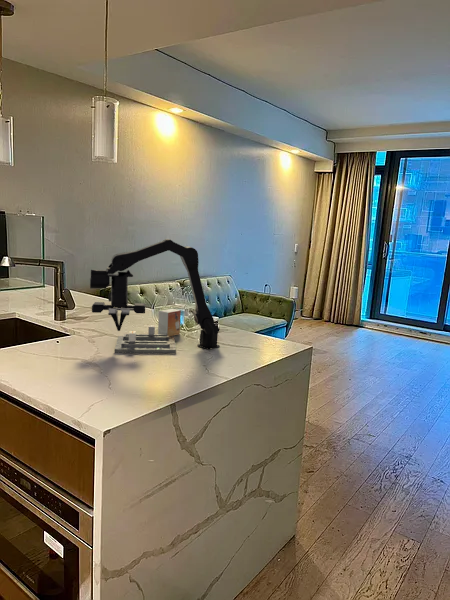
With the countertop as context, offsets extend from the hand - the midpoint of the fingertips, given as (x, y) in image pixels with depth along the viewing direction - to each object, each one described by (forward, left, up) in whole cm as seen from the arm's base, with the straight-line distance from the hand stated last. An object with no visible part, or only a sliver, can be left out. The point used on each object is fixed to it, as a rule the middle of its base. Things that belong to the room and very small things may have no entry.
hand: (118, 330), depth 168 cm
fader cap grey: (0, -15, -5) cm, 16 cm away
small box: (+5, -29, -7) cm, 30 cm away
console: (-3, -10, -7) cm, 13 cm away
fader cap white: (-3, -4, -6) cm, 7 cm away
